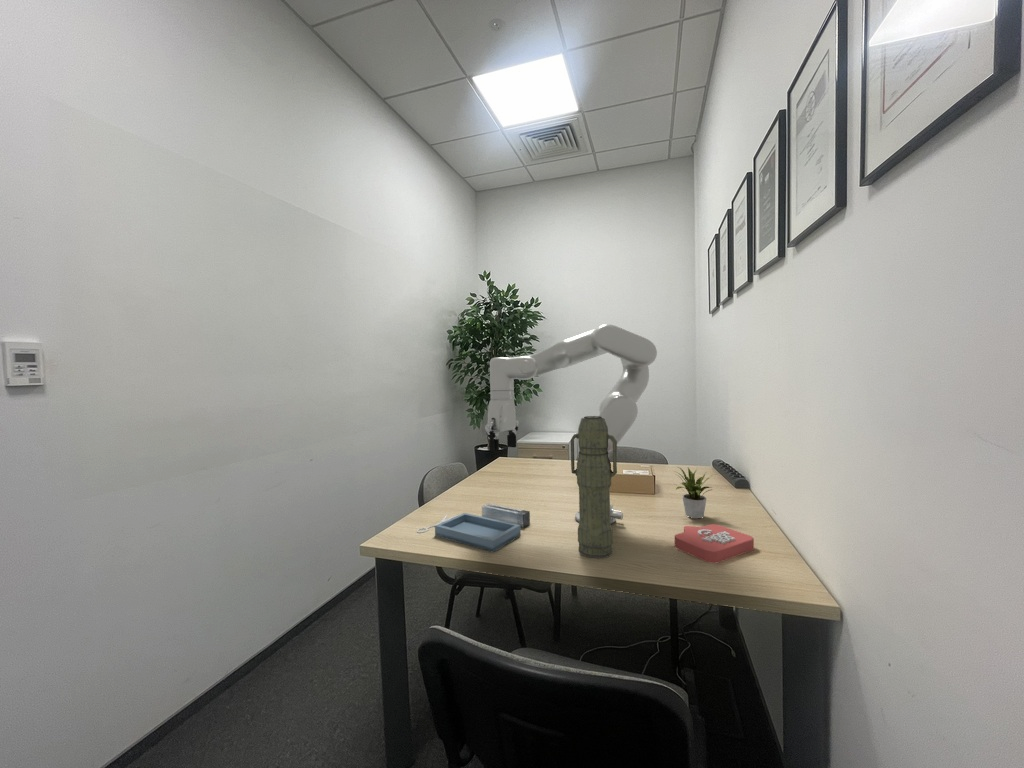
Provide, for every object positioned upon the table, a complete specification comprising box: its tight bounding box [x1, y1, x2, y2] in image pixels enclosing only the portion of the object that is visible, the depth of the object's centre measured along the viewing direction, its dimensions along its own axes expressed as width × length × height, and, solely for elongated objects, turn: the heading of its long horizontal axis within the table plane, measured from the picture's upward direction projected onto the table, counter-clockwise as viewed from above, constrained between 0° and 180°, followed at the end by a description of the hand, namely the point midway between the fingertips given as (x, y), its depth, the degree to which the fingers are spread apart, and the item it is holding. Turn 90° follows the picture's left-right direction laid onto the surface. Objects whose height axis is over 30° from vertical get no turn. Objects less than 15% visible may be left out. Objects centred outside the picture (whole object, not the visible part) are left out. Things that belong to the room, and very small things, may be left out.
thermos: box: [570, 415, 618, 559], centre depth 102 cm, size 9×12×35 cm
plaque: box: [674, 523, 755, 564], centre depth 104 cm, size 18×4×15 cm
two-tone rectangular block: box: [481, 503, 531, 528], centre depth 125 cm, size 16×4×4 cm, turn 56°
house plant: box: [673, 465, 717, 519], centre depth 127 cm, size 14×14×16 cm
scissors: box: [416, 513, 460, 534], centre depth 124 cm, size 11×1×20 cm
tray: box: [434, 512, 522, 553], centre depth 114 cm, size 21×13×3 cm, turn 56°
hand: (503, 449), depth 125 cm, fingers open, 9 cm apart
